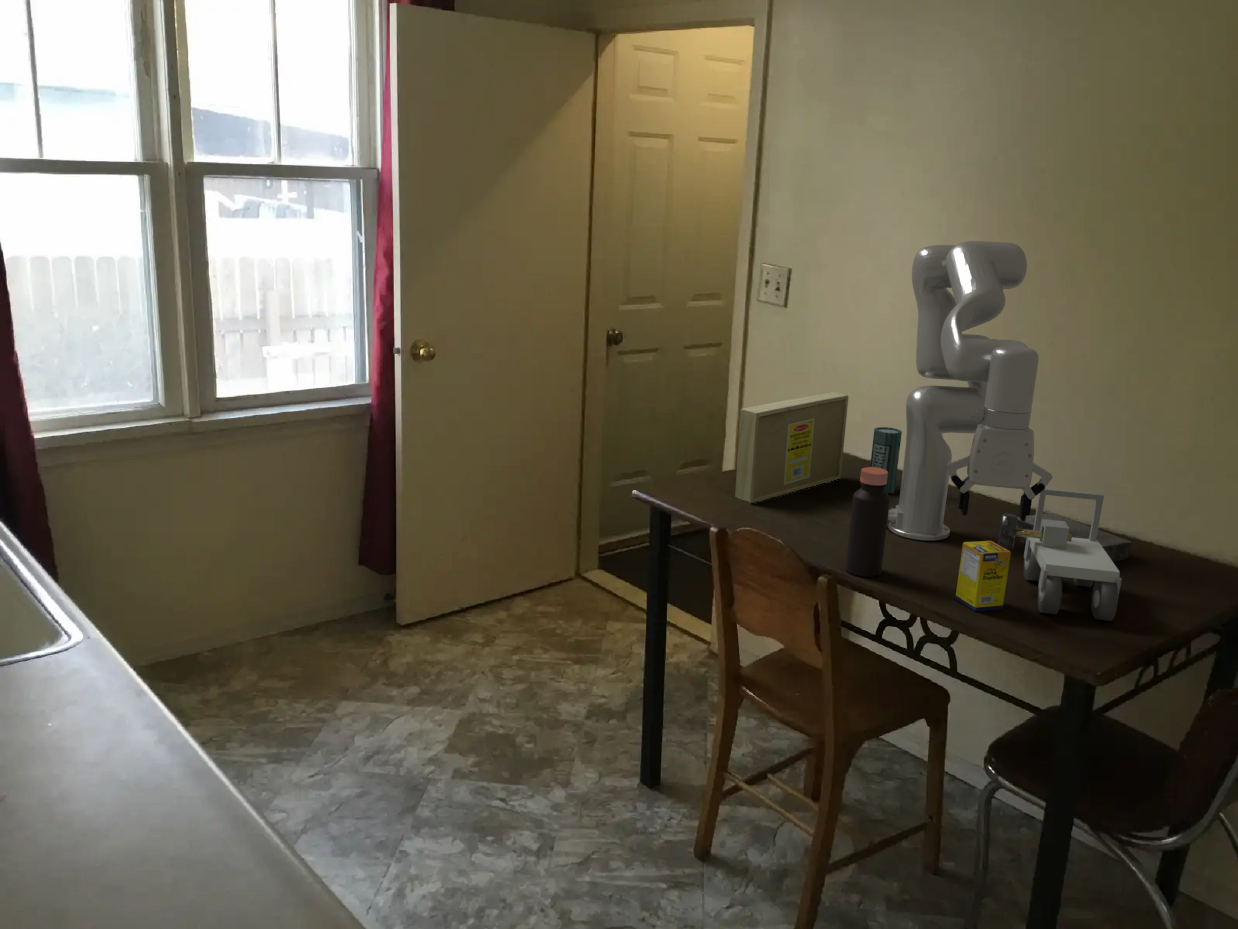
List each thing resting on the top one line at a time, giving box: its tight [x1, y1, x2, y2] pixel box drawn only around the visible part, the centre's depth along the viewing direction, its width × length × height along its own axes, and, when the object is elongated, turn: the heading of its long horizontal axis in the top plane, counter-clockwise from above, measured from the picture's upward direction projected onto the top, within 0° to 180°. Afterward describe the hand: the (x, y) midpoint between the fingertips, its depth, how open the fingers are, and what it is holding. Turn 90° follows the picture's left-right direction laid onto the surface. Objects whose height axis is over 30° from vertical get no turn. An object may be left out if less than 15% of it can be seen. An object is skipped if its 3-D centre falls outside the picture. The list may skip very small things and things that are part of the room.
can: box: [869, 426, 903, 494], centre depth 250 cm, size 6×6×15 cm
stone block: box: [1014, 512, 1133, 563], centre depth 217 cm, size 14×20×5 cm
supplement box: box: [955, 540, 1012, 612], centre depth 184 cm, size 6×6×11 cm
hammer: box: [997, 513, 1072, 550], centre depth 192 cm, size 12×3×6 cm, turn 78°
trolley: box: [1023, 487, 1123, 622], centre depth 188 cm, size 13×23×18 cm, turn 168°
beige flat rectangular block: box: [734, 391, 849, 503], centre depth 246 cm, size 35×5×22 cm, turn 133°
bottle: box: [845, 466, 891, 578], centre depth 196 cm, size 7×7×20 cm
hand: (992, 516), depth 181 cm, fingers open, 9 cm apart
